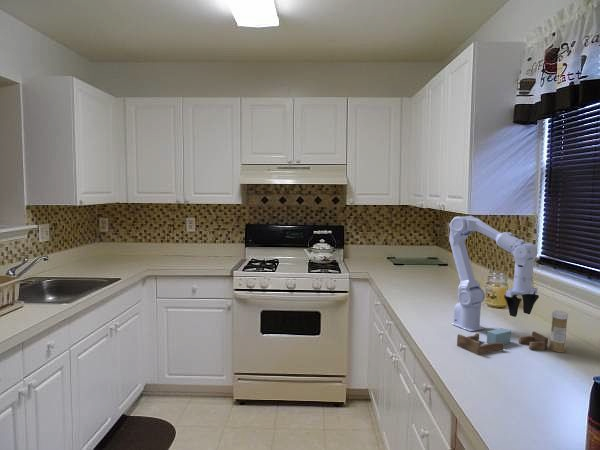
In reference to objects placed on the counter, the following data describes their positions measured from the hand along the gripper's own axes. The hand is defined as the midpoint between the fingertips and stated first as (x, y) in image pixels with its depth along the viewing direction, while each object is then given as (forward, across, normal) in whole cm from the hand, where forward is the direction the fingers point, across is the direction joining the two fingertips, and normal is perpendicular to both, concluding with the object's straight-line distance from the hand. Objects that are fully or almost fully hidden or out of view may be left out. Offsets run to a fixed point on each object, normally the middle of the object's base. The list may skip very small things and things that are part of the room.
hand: (519, 314), depth 148 cm
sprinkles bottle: (+10, +6, -10) cm, 16 cm away
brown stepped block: (+10, +1, -4) cm, 11 cm away
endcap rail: (+10, -18, +2) cm, 21 cm away
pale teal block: (+10, -7, +2) cm, 13 cm away
